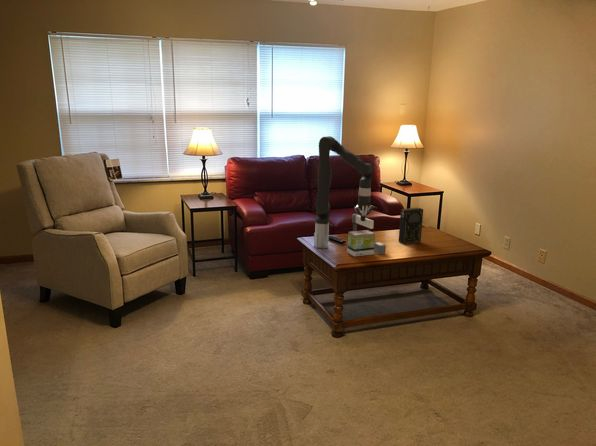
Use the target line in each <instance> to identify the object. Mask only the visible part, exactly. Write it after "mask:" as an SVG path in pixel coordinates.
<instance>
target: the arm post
mask: <svg viewBox="0 0 596 446" xmlns="http://www.w3.org/2000/svg"><path fill="white" fill-rule="evenodd" d="M357 229H358V223H354V222H352V231H358V230H357Z"/></svg>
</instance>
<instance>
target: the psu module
mask: <svg viewBox="0 0 596 446" xmlns="http://www.w3.org/2000/svg"><path fill="white" fill-rule="evenodd" d="M386 248H387V246H386V244H385V243H382V242H380V241H376V242H375V245H374V253H375V254H377V255H386Z"/></svg>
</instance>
